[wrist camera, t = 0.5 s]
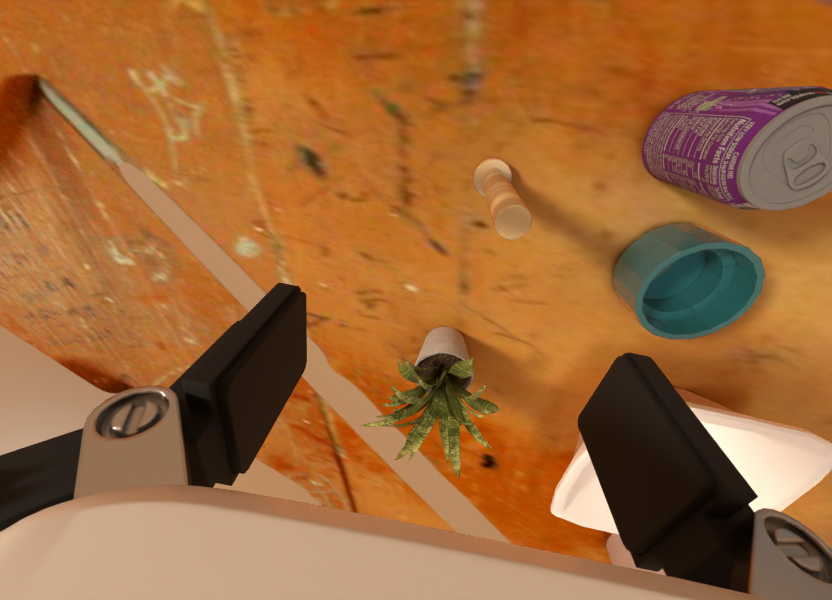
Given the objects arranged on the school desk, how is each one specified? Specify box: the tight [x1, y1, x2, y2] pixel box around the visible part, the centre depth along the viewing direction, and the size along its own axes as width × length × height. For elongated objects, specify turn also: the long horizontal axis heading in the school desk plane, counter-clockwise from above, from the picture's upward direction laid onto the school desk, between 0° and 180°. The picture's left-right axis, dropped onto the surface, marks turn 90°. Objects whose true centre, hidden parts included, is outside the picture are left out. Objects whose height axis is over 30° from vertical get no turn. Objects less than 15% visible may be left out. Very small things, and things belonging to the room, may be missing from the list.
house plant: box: [362, 327, 501, 478], centre depth 36 cm, size 14×14×16 cm
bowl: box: [550, 387, 832, 534], centre depth 42 cm, size 24×25×11 cm
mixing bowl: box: [613, 222, 765, 339], centre depth 33 cm, size 10×10×6 cm
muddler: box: [473, 158, 532, 240], centre depth 26 cm, size 4×4×15 cm
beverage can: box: [642, 86, 832, 210], centre depth 24 cm, size 7×7×12 cm
